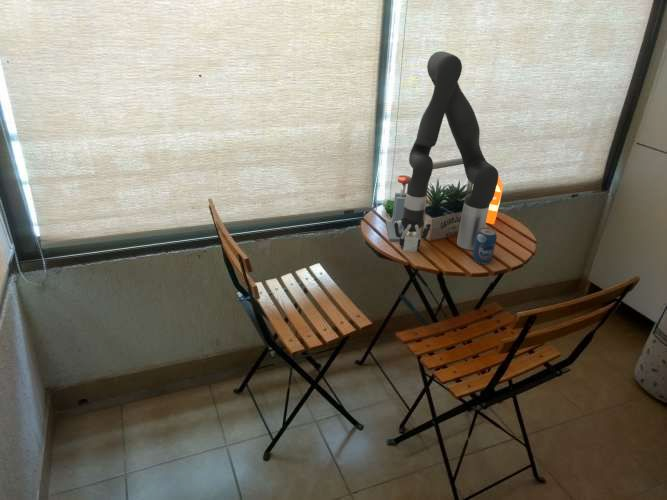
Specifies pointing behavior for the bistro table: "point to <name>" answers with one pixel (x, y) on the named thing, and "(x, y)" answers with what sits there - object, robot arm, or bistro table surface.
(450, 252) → the bistro table surface
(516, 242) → the bistro table surface
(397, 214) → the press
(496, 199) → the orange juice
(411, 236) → the block
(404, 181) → the disc
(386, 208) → the clamp
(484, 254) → the soda can
